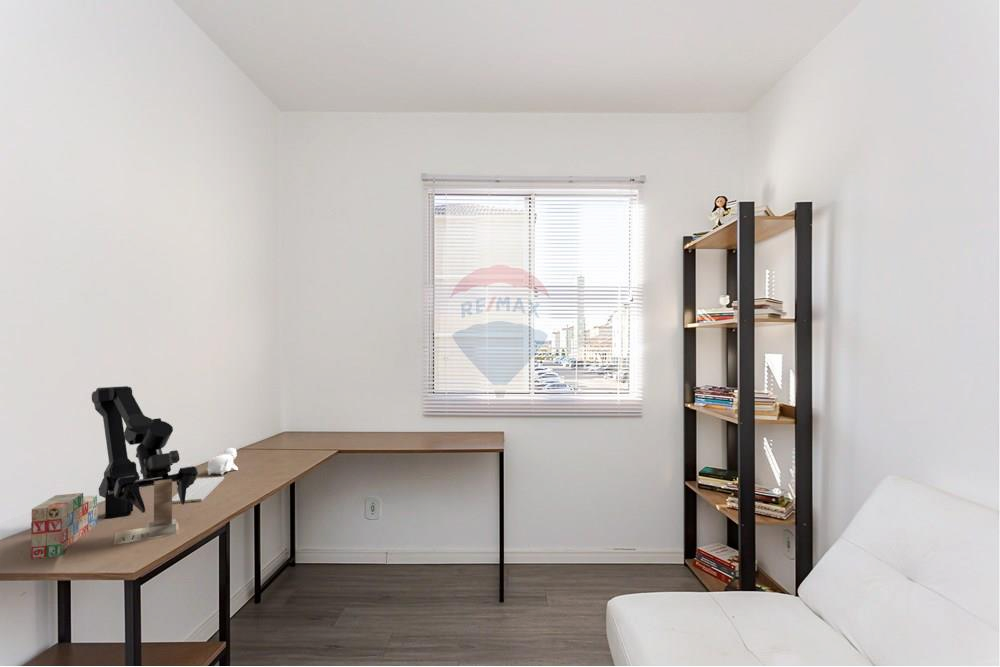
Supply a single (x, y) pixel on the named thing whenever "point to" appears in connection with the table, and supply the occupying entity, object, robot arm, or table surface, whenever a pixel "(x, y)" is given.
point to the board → (136, 535)
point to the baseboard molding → (199, 489)
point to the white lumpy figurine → (223, 462)
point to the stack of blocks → (61, 523)
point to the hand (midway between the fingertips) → (164, 507)
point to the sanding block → (162, 510)
